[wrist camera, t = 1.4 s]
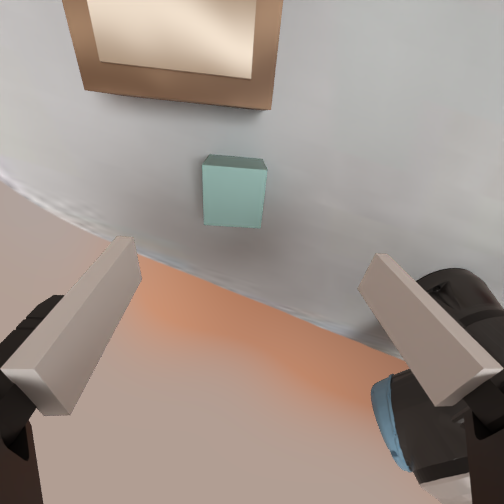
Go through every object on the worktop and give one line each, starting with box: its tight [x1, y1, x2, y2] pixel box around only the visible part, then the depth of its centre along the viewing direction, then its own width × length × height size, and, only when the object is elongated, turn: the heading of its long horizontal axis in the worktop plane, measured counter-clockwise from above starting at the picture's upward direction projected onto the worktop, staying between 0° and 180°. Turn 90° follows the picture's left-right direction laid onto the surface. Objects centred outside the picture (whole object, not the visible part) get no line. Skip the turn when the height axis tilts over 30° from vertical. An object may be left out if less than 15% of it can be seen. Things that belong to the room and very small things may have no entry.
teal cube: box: [202, 154, 267, 228], centre depth 29 cm, size 7×7×7 cm
